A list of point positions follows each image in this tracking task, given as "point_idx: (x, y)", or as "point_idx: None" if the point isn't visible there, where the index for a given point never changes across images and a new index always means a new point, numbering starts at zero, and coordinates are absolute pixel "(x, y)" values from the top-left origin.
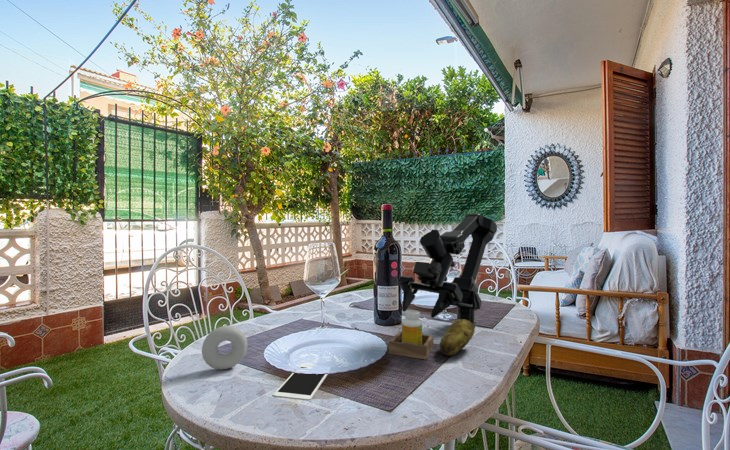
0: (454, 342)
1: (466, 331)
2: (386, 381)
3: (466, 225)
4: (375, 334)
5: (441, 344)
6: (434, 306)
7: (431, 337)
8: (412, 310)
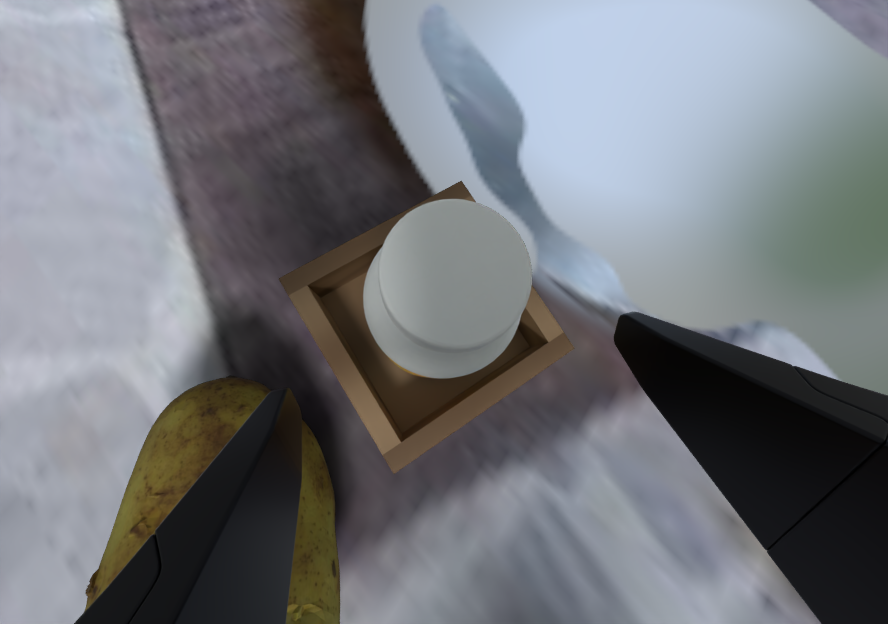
0: (150, 433)
1: None
2: (253, 33)
3: None
4: (695, 330)
5: (245, 384)
6: (239, 476)
7: (376, 434)
8: (496, 310)
